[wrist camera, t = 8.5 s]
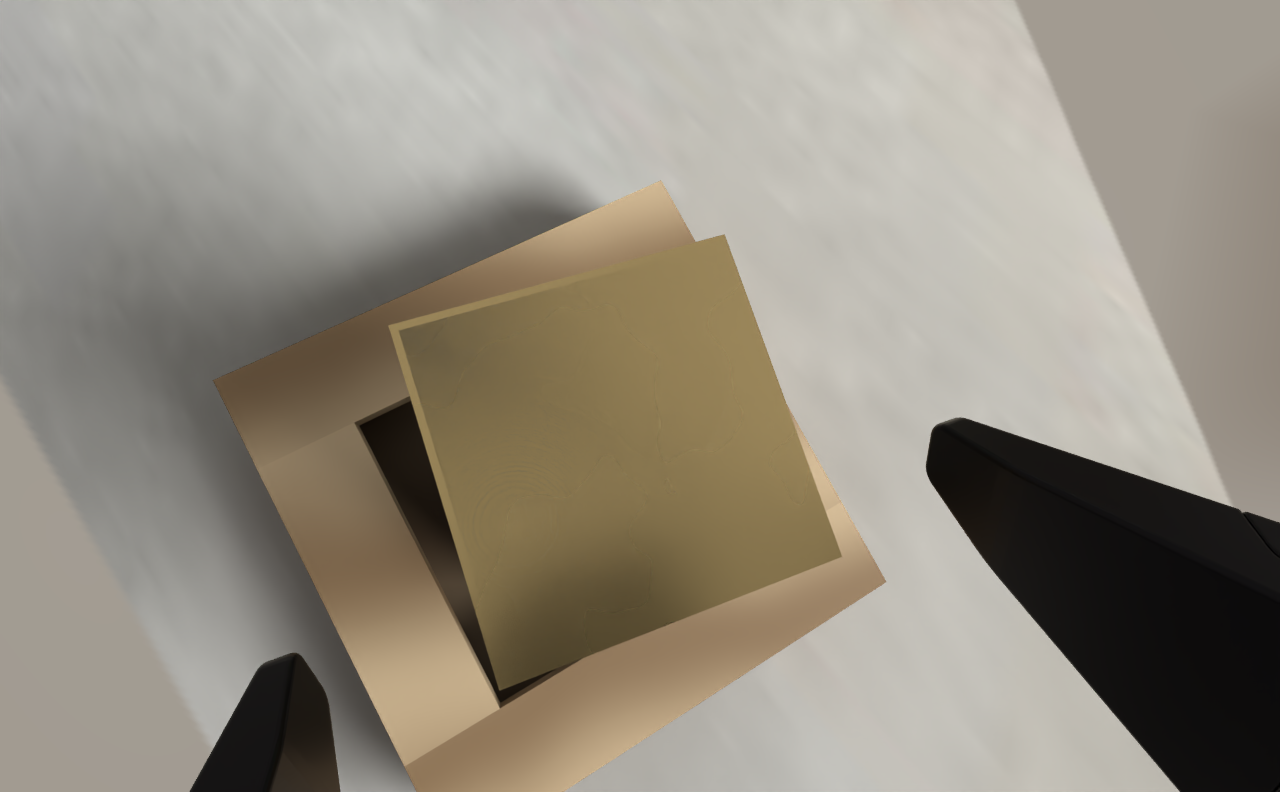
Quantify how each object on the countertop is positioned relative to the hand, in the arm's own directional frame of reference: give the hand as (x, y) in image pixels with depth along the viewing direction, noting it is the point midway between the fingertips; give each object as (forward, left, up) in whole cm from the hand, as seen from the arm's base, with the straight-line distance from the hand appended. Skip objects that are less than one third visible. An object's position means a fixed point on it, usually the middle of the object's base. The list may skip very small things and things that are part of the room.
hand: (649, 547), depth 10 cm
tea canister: (+1, 0, -12) cm, 13 cm away
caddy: (+1, 0, -13) cm, 13 cm away
